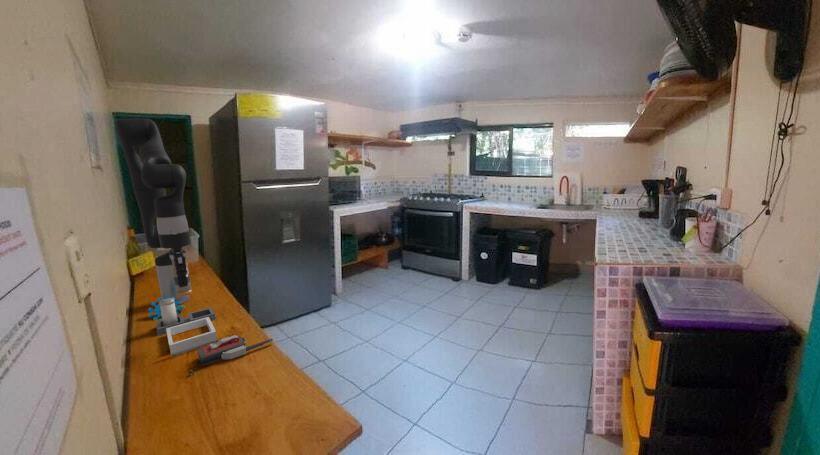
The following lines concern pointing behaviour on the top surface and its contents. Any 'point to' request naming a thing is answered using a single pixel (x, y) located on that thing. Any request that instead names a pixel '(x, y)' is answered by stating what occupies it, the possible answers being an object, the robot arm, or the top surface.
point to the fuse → (168, 311)
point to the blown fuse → (179, 290)
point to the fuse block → (181, 320)
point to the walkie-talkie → (225, 350)
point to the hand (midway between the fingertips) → (182, 284)
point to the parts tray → (193, 341)
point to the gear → (158, 310)
